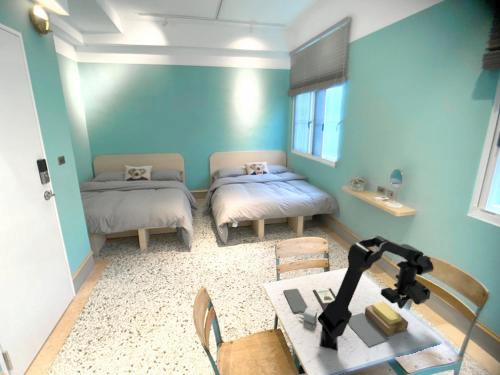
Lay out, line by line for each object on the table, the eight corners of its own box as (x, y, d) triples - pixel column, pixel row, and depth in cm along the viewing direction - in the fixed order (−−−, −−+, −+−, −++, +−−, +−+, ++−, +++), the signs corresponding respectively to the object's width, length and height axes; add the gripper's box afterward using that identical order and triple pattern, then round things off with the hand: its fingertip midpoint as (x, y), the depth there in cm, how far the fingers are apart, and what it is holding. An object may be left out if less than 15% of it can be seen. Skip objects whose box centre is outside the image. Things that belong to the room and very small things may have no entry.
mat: (362, 313, 109) (362, 312, 109) (389, 339, 97) (389, 338, 97) (343, 319, 106) (343, 318, 106) (368, 347, 94) (368, 346, 93)
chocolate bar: (328, 318, 106) (313, 289, 123) (328, 320, 106) (312, 291, 123) (348, 316, 107) (330, 288, 124) (348, 318, 107) (330, 289, 124)
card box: (383, 305, 108) (383, 301, 108) (401, 320, 100) (402, 316, 100) (372, 308, 107) (372, 304, 106) (389, 324, 98) (390, 320, 98)
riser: (382, 309, 112) (383, 301, 110) (406, 330, 101) (408, 322, 100) (364, 314, 108) (365, 307, 107) (387, 337, 98) (388, 329, 96)
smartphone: (297, 288, 124) (309, 310, 110) (297, 289, 125) (309, 312, 111) (282, 290, 123) (293, 312, 109) (282, 291, 123) (293, 314, 109)
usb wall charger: (313, 325, 103) (314, 317, 102) (297, 318, 107) (298, 310, 106) (316, 318, 107) (317, 310, 106) (300, 312, 110) (301, 304, 109)
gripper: (407, 294, 91) (400, 329, 95) (443, 283, 97) (435, 316, 101) (382, 276, 101) (377, 308, 105) (416, 267, 107) (410, 297, 111)
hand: (400, 307), depth 106 cm, fingers closed
